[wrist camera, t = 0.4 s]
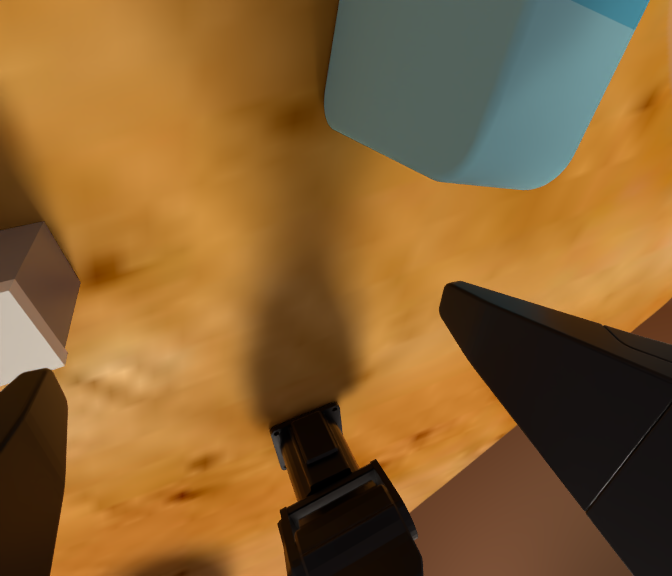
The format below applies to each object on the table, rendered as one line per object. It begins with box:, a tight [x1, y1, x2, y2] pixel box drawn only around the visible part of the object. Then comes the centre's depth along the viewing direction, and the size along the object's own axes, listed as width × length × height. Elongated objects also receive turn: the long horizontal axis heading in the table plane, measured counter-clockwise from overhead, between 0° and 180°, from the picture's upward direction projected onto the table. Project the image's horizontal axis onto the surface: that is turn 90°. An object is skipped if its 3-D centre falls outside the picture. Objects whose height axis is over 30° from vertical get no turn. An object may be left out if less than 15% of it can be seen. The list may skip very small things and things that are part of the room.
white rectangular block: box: [0, 221, 80, 386], centre depth 16 cm, size 4×4×6 cm
